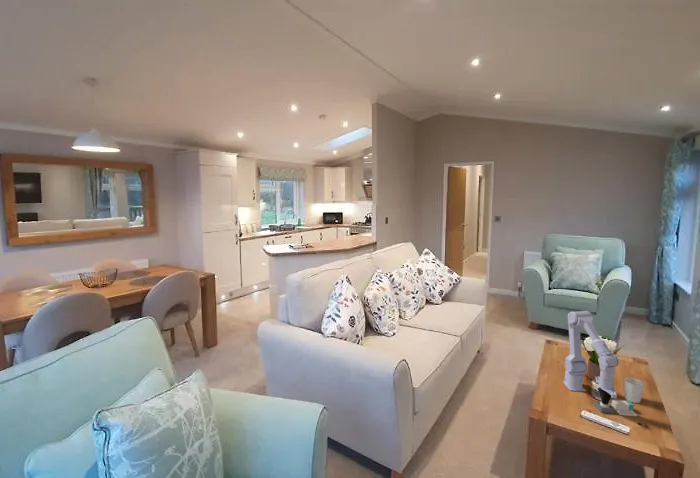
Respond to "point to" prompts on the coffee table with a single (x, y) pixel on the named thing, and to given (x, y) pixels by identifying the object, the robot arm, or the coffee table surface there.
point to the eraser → (622, 405)
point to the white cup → (633, 390)
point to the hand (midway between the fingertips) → (604, 403)
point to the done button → (604, 405)
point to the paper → (626, 412)
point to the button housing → (604, 408)
